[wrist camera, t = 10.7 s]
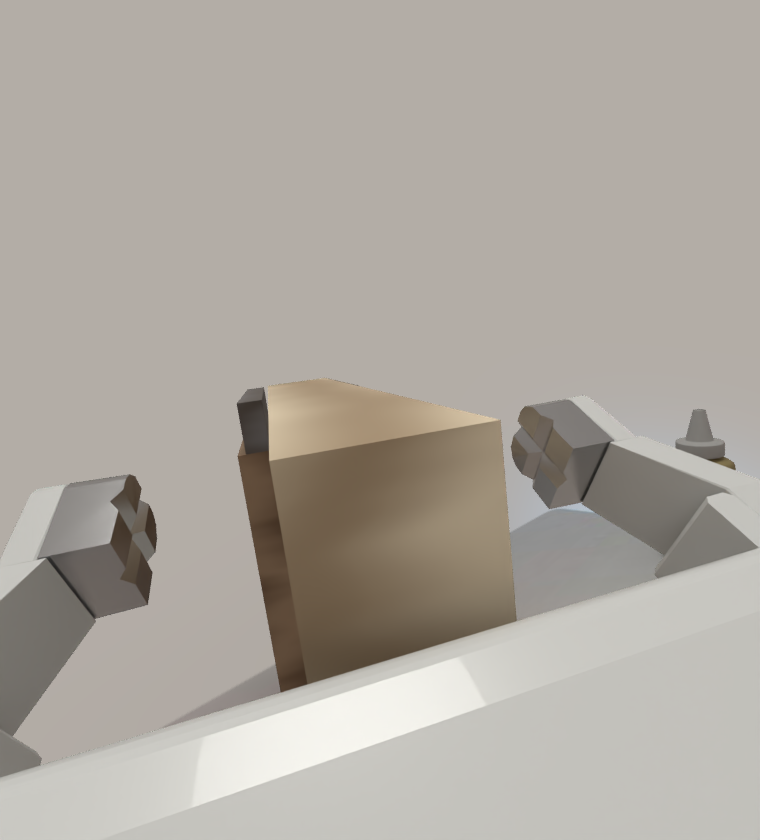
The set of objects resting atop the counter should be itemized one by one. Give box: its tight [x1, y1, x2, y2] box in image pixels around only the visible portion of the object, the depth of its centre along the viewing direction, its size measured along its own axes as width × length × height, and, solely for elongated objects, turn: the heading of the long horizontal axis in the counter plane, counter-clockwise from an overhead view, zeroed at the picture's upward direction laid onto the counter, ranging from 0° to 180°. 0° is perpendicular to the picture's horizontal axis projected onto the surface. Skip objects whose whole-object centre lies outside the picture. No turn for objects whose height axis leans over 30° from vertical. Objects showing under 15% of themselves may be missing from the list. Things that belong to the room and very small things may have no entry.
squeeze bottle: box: [676, 409, 736, 470], centre depth 51 cm, size 8×8×18 cm
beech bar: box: [268, 378, 517, 684], centre depth 14 cm, size 3×18×3 cm, turn 15°
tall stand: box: [237, 379, 358, 692], centre depth 30 cm, size 7×12×28 cm, turn 15°
